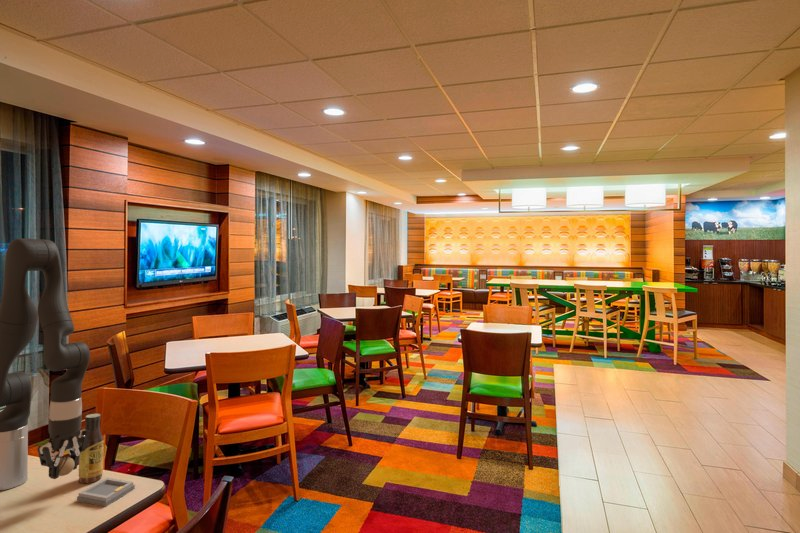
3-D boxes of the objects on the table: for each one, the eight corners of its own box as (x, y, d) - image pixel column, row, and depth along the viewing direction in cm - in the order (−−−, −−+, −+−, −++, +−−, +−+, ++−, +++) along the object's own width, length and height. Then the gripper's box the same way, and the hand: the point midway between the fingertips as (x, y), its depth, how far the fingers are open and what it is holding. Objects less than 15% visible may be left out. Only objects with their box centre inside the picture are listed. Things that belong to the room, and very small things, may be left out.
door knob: (64, 469, 133) (65, 452, 133) (78, 472, 132) (79, 455, 132) (48, 477, 128) (48, 459, 128) (62, 480, 127) (63, 462, 127)
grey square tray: (77, 501, 130) (77, 492, 130) (107, 484, 140) (107, 475, 140) (106, 506, 128) (106, 497, 128) (134, 488, 138) (134, 480, 138)
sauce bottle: (90, 485, 139) (91, 420, 138) (73, 483, 140) (73, 418, 140) (108, 475, 145) (109, 413, 145) (91, 473, 146) (92, 411, 146)
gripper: (78, 404, 137) (76, 460, 138) (29, 421, 123) (27, 483, 124) (98, 407, 135) (96, 464, 136) (51, 425, 121) (49, 488, 122)
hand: (63, 473), depth 130 cm, fingers closed on door knob, 5 cm apart
